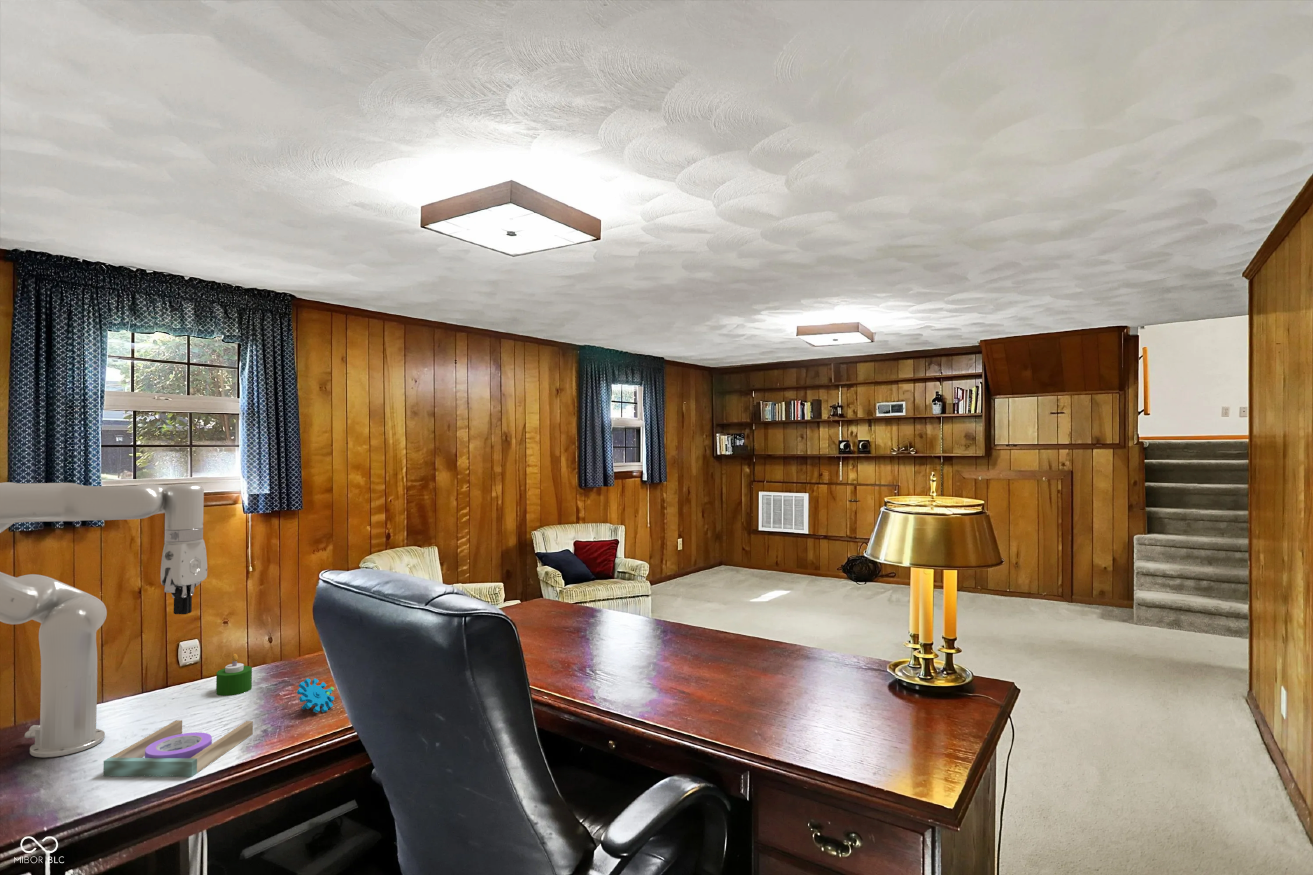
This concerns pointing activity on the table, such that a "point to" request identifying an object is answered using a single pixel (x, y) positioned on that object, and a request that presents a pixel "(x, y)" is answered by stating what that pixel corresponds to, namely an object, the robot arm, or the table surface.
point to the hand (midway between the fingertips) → (182, 613)
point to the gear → (315, 695)
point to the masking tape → (179, 746)
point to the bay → (135, 765)
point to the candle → (234, 679)
